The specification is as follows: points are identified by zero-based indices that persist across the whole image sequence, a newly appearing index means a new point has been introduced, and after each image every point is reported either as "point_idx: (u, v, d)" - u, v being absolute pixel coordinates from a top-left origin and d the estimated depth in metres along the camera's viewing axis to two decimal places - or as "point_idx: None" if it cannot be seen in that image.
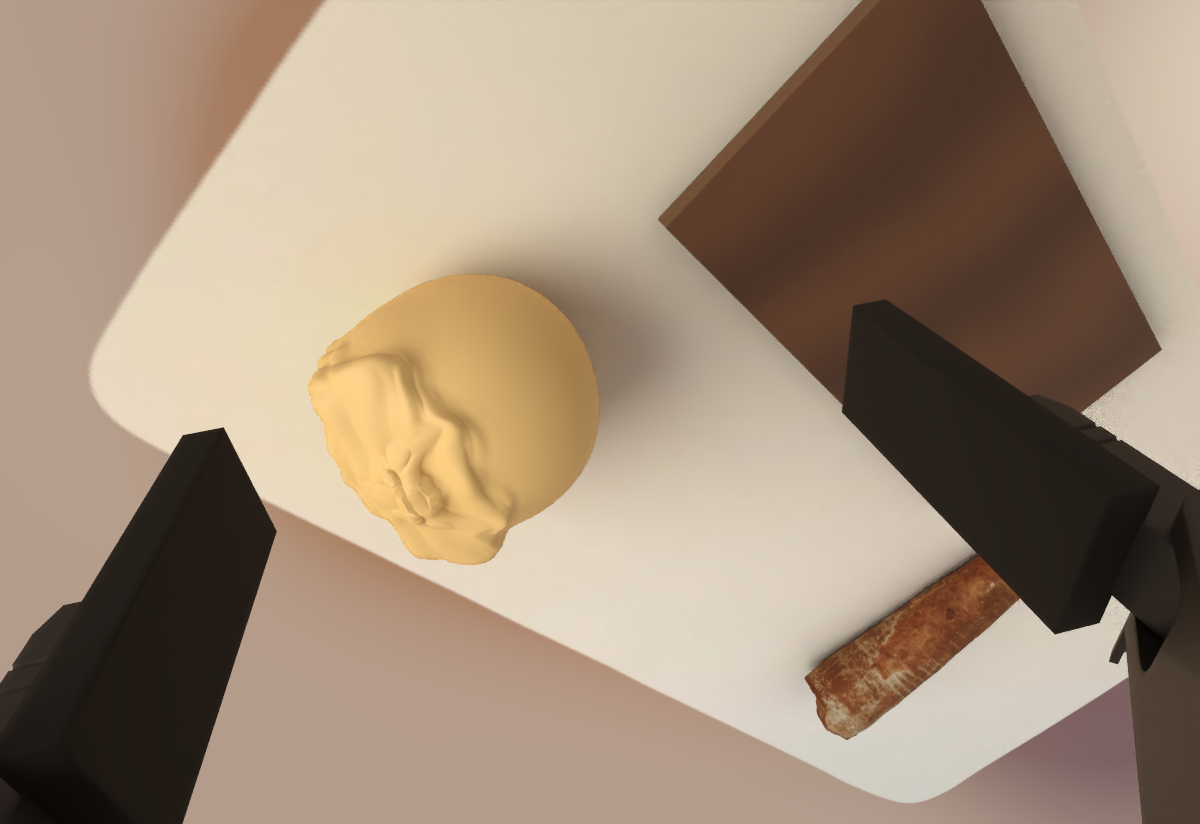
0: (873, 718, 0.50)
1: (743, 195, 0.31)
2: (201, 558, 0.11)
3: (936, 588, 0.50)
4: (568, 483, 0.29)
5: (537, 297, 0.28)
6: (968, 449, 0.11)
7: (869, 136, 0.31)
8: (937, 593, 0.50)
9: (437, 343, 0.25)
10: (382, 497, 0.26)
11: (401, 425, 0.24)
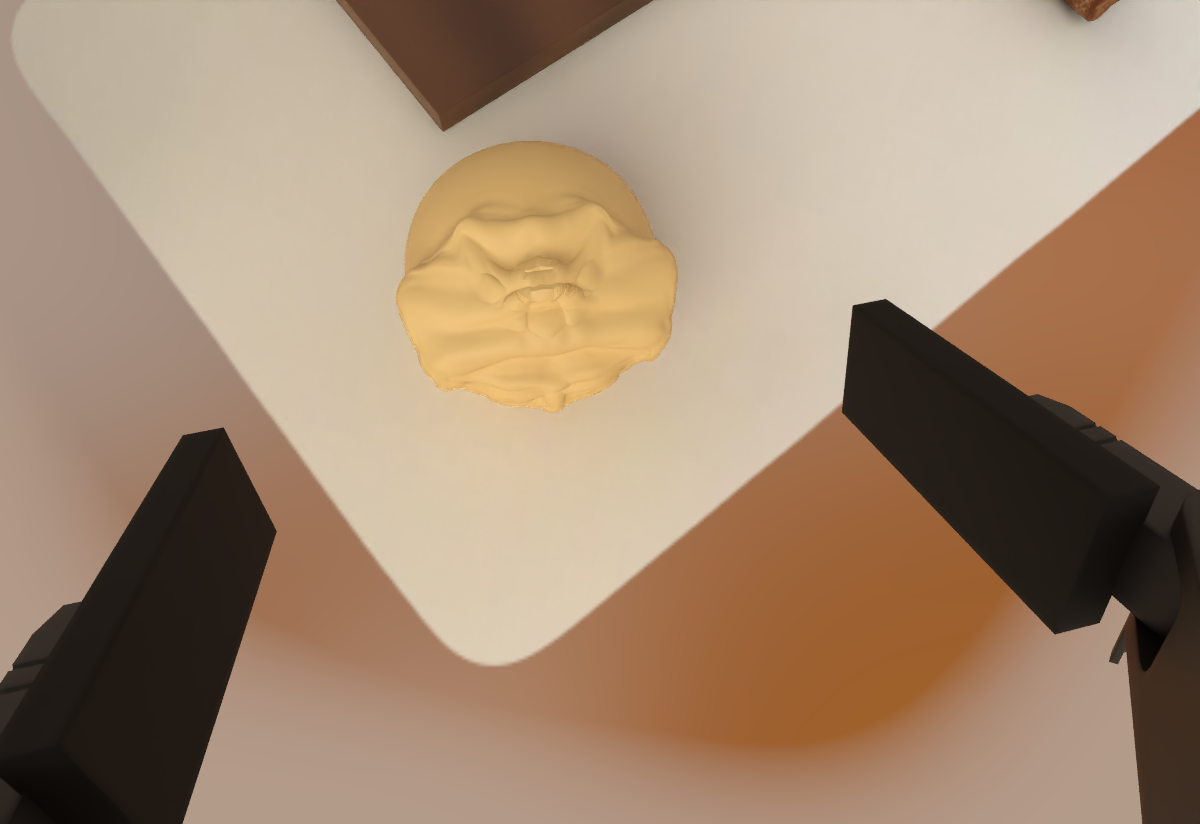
0: None
1: (427, 51, 0.36)
2: (201, 558, 0.11)
3: None
4: (597, 164, 0.28)
5: None
6: (968, 449, 0.11)
7: None
8: None
9: (414, 250, 0.27)
10: (543, 323, 0.25)
11: (456, 275, 0.25)
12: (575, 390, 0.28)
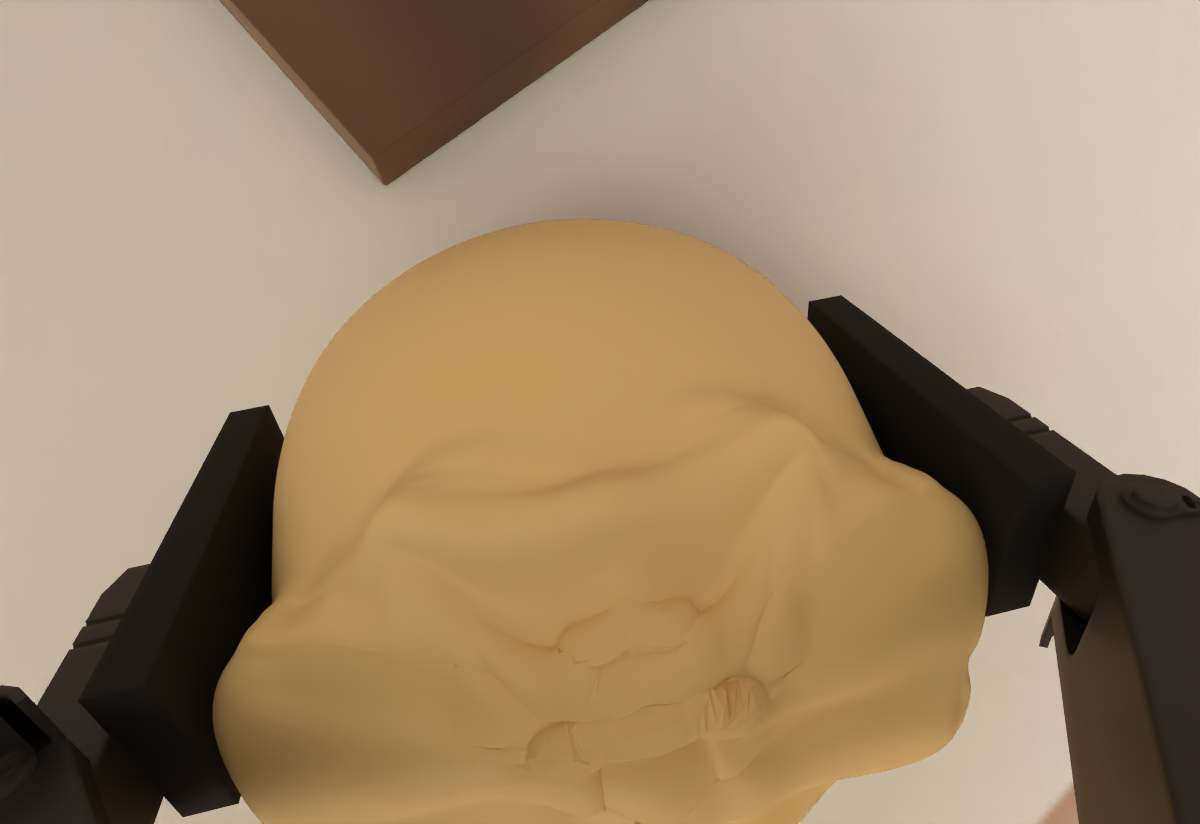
0: None
1: (346, 42, 0.20)
2: (254, 526, 0.12)
3: None
4: (739, 272, 0.11)
5: None
6: (909, 439, 0.12)
7: None
8: None
9: (279, 533, 0.10)
10: (651, 796, 0.08)
11: (379, 673, 0.08)
12: None
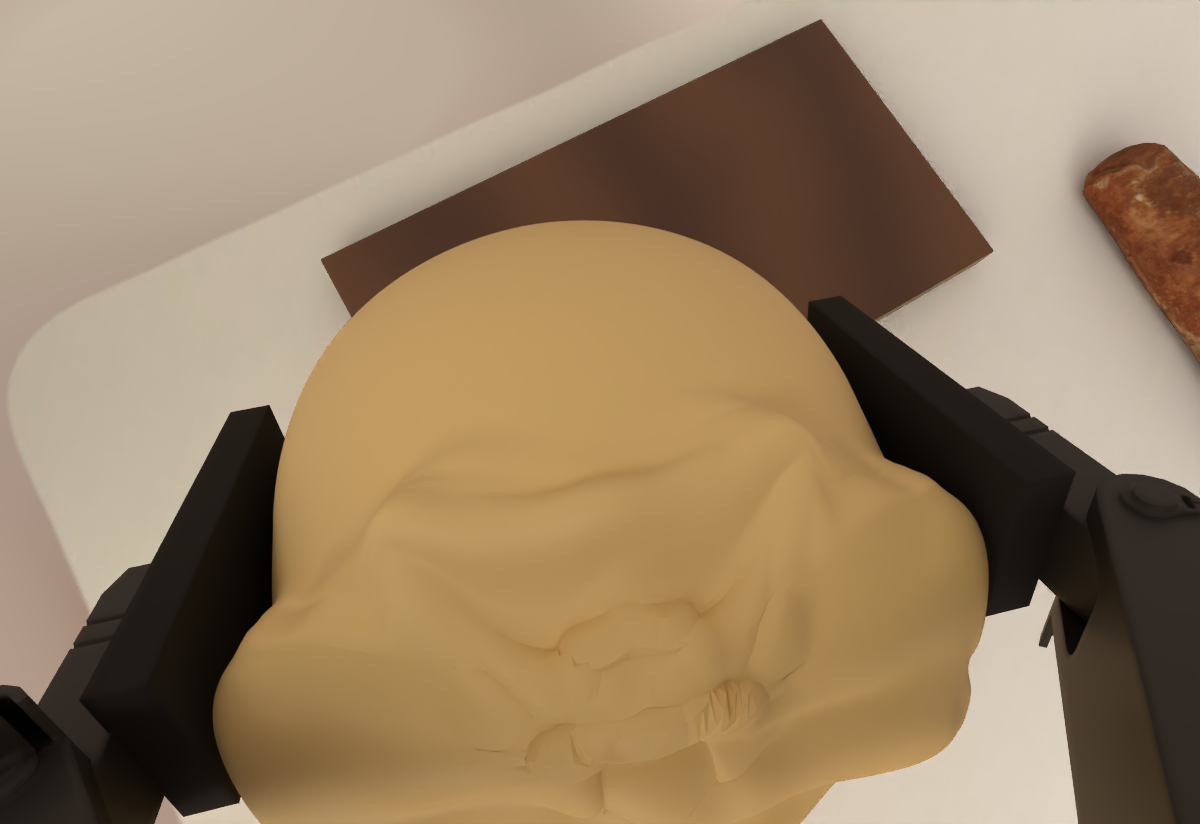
0: None
1: None
2: (255, 526, 0.12)
3: (1137, 269, 0.35)
4: (739, 274, 0.11)
5: None
6: (909, 439, 0.12)
7: None
8: (1145, 270, 0.34)
9: (279, 534, 0.10)
10: (651, 799, 0.08)
11: (378, 675, 0.08)
12: None
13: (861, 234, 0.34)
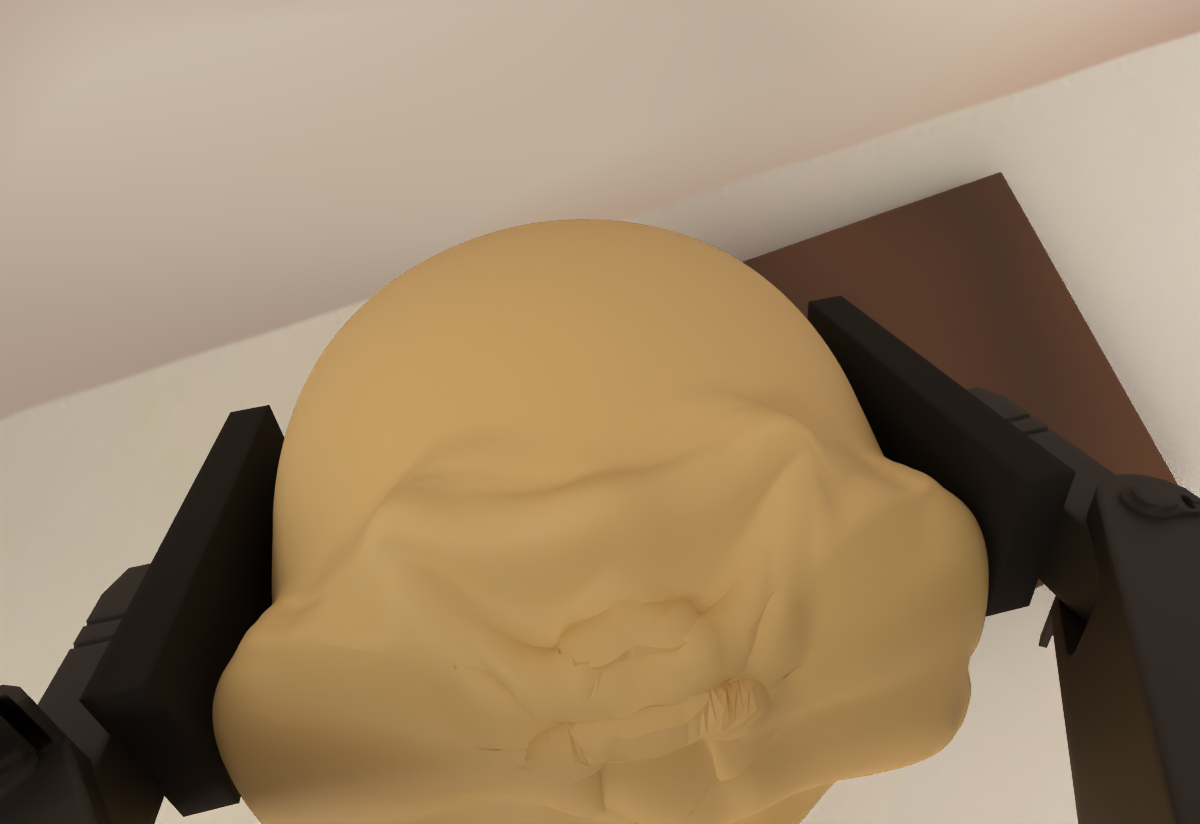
0: None
1: None
2: (255, 526, 0.12)
3: None
4: (739, 273, 0.11)
5: None
6: (909, 439, 0.12)
7: None
8: None
9: (278, 534, 0.10)
10: (651, 797, 0.08)
11: (378, 673, 0.08)
12: None
13: None
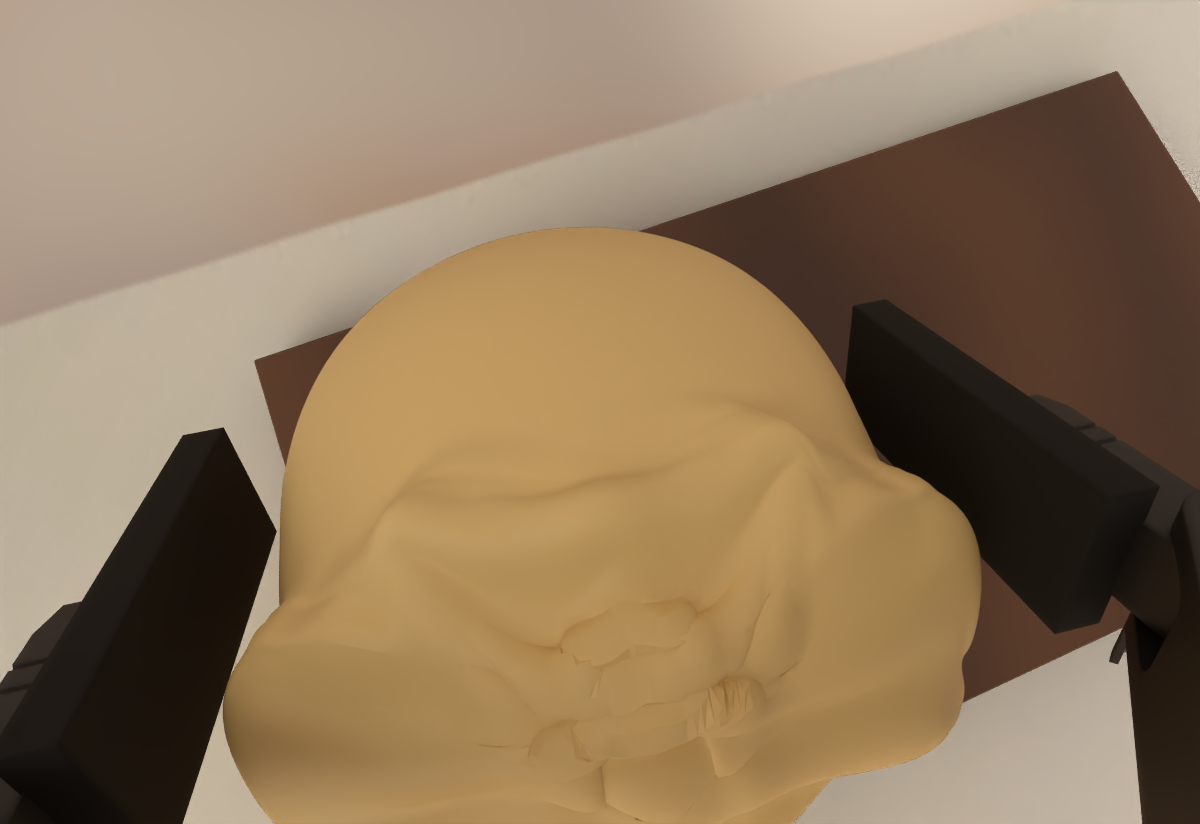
0: None
1: None
2: (201, 558, 0.11)
3: None
4: (737, 280, 0.11)
5: None
6: (968, 449, 0.11)
7: None
8: None
9: (286, 536, 0.10)
10: (652, 792, 0.08)
11: (386, 672, 0.08)
12: None
13: (1163, 442, 0.20)
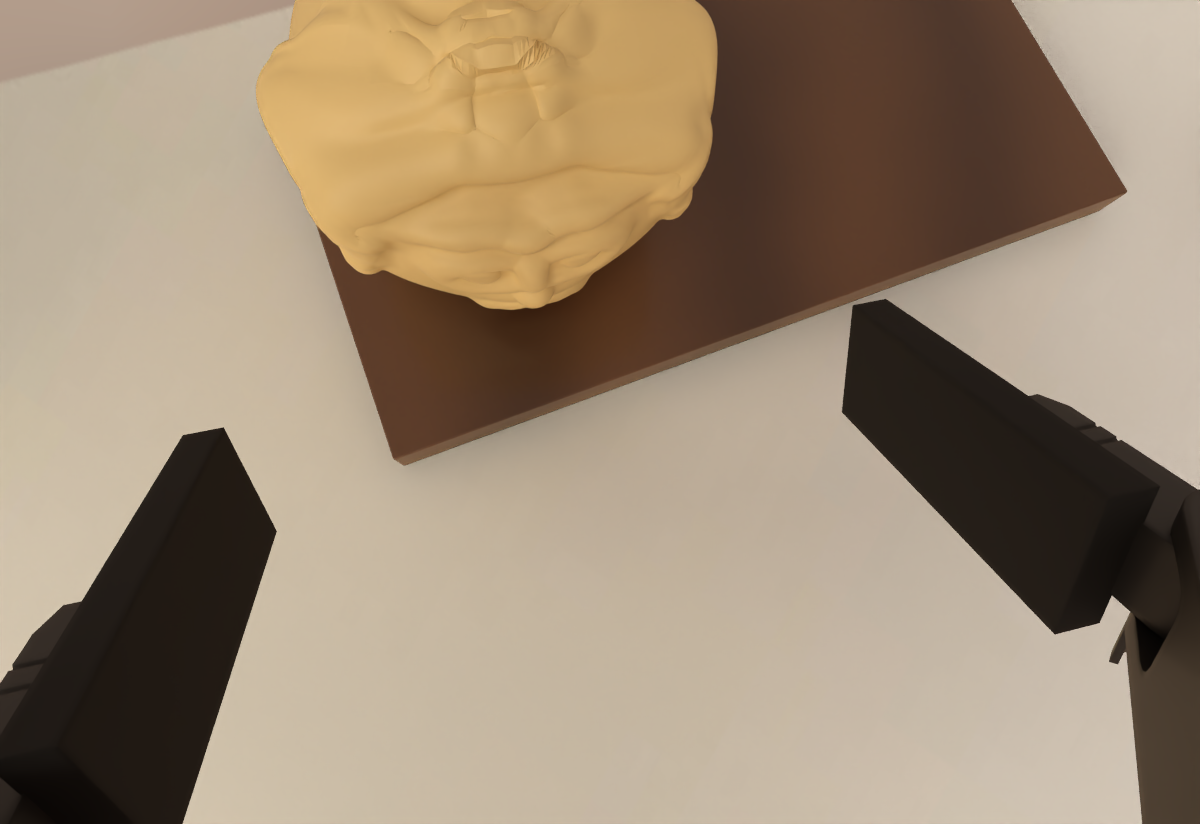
0: None
1: (411, 349, 0.23)
2: (201, 558, 0.11)
3: None
4: None
5: None
6: (968, 449, 0.11)
7: None
8: None
9: (292, 35, 0.17)
10: (500, 114, 0.15)
11: (349, 40, 0.15)
12: (564, 253, 0.18)
13: (956, 146, 0.26)
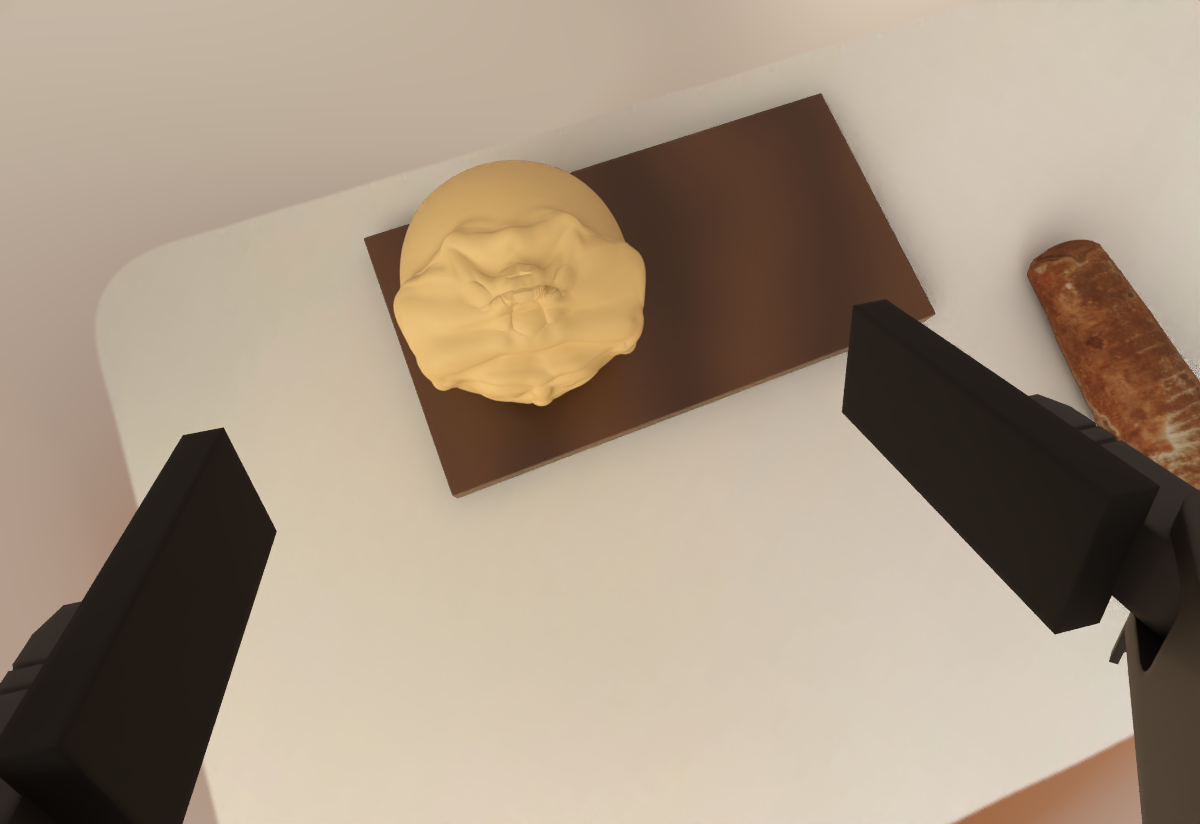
0: None
1: (462, 424, 0.36)
2: (201, 558, 0.11)
3: (1061, 347, 0.40)
4: (568, 177, 0.31)
5: None
6: (968, 449, 0.11)
7: None
8: (1066, 349, 0.39)
9: (407, 264, 0.30)
10: (526, 322, 0.28)
11: (446, 284, 0.28)
12: (560, 383, 0.31)
13: (822, 283, 0.40)
